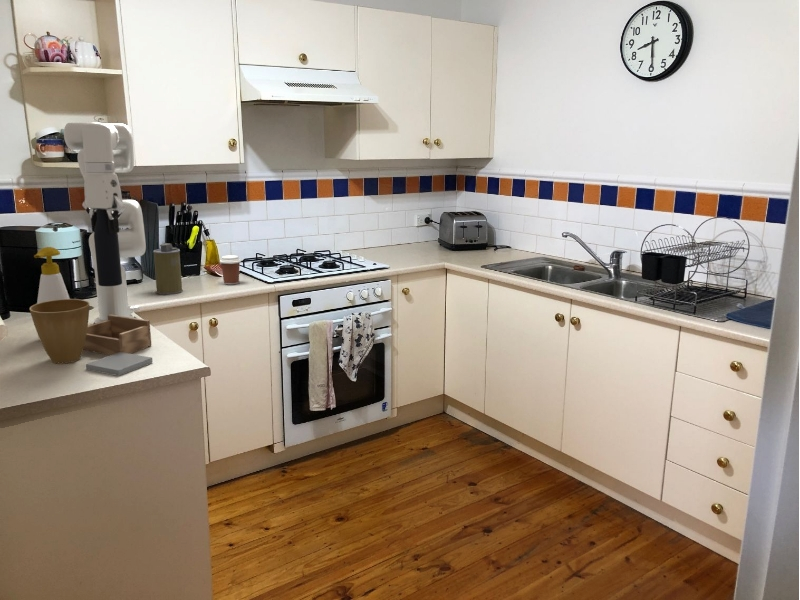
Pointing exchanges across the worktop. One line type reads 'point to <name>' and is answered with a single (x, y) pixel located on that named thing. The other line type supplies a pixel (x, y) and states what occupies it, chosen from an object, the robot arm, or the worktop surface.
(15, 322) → the worktop surface
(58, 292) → the soap bottle
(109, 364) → the tile
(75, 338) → the plant pot
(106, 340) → the wooden box
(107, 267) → the black water bottle
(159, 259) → the canister
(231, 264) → the coffee cup
